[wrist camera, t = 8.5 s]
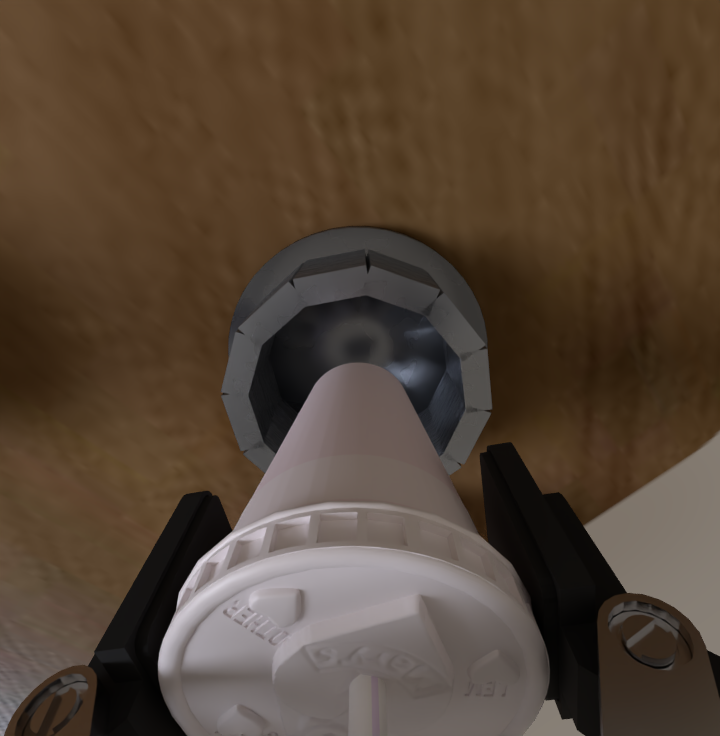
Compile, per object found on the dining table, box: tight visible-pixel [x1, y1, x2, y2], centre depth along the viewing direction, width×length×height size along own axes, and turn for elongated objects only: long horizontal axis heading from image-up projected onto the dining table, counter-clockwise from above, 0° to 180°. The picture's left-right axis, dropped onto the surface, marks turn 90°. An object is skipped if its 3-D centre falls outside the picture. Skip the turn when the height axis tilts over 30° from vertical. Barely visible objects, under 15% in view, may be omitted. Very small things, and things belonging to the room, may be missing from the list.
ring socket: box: [221, 226, 492, 475], centre depth 18 cm, size 12×12×5 cm
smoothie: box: [158, 363, 550, 736], centre depth 9 cm, size 6×6×14 cm
